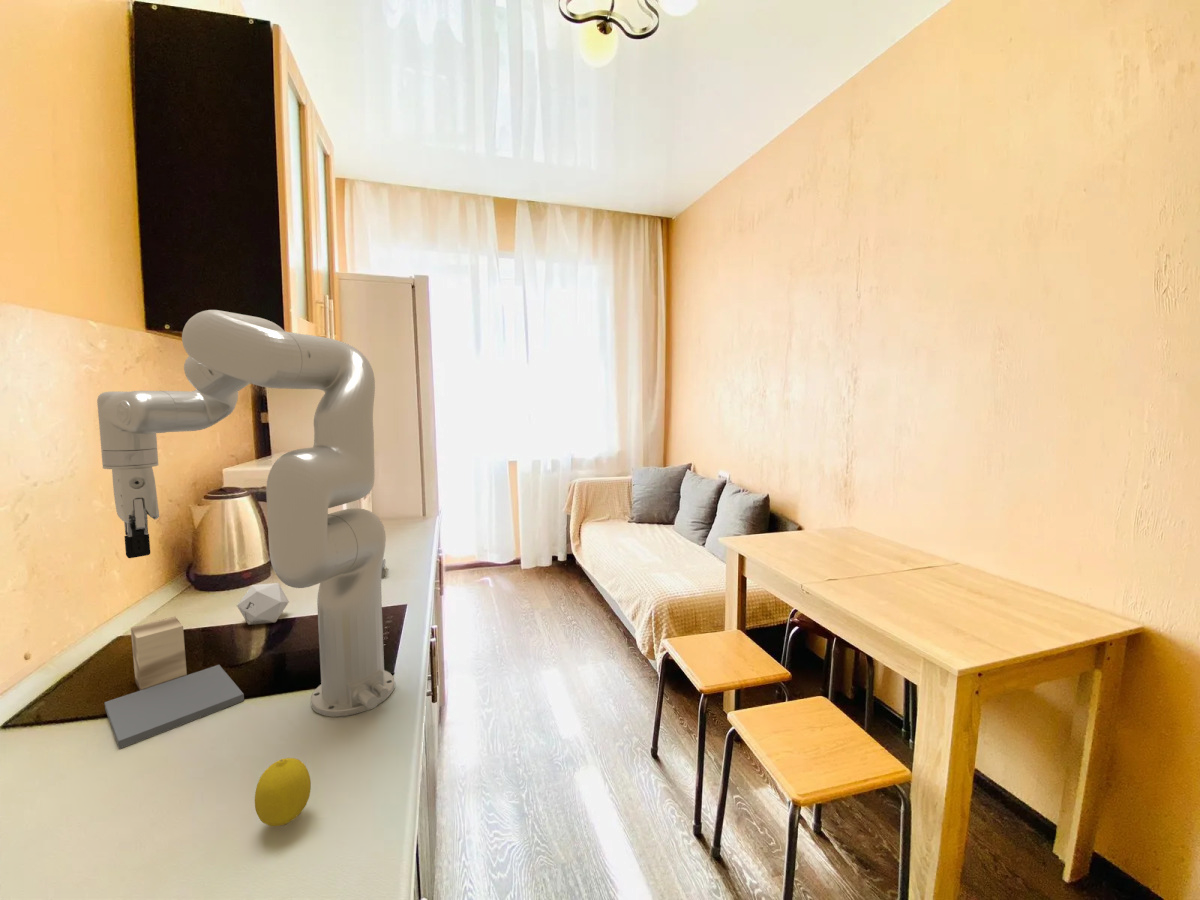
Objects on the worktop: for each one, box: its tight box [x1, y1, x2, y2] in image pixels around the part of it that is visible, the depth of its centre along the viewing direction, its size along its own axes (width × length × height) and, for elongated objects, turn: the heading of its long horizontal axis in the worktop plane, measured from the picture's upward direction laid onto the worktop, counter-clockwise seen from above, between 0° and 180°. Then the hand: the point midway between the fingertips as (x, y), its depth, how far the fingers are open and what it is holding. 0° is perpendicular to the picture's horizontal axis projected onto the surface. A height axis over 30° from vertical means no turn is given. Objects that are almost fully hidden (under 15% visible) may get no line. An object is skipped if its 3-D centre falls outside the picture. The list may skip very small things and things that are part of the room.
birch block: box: [130, 615, 188, 691], centre depth 88 cm, size 6×6×10 cm
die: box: [236, 582, 290, 626], centre depth 112 cm, size 8×9×10 cm
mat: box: [104, 664, 245, 750], centre depth 81 cm, size 14×15×1 cm
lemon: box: [254, 757, 312, 827], centre depth 58 cm, size 6×6×8 cm
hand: (138, 555), depth 94 cm, fingers closed
